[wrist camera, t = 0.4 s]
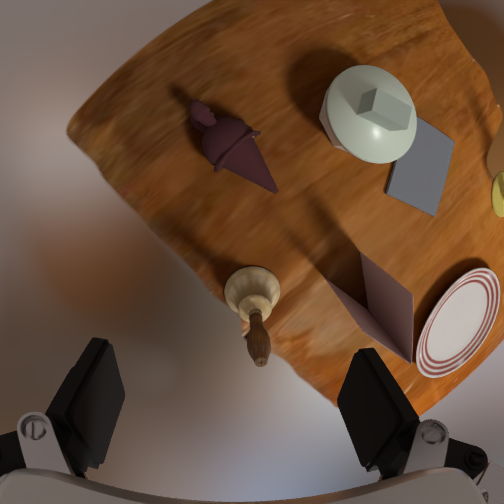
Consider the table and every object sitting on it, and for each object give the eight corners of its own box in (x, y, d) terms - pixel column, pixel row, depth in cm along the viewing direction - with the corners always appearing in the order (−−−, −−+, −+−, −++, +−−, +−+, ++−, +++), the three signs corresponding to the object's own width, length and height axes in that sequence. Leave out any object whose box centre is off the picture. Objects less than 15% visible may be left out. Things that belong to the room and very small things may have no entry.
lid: (338, 51, 27) (353, 38, 22) (419, 94, 29) (441, 89, 24) (313, 140, 31) (326, 138, 26) (399, 177, 33) (421, 181, 28)
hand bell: (246, 324, 43) (253, 399, 28) (212, 286, 41) (204, 356, 26) (290, 296, 42) (318, 364, 27) (259, 254, 40) (276, 313, 25)
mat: (406, 111, 34) (409, 111, 34) (452, 141, 36) (454, 141, 35) (385, 193, 38) (387, 194, 38) (432, 215, 40) (434, 216, 39)
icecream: (307, 167, 30) (215, 77, 27) (262, 212, 30) (165, 116, 27) (288, 177, 37) (211, 102, 34) (250, 215, 36) (171, 136, 34)
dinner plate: (421, 275, 44) (432, 283, 40) (501, 255, 45) (511, 260, 41) (398, 383, 52) (404, 392, 49) (476, 350, 53) (482, 356, 50)
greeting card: (373, 309, 45) (416, 361, 30) (334, 324, 45) (368, 384, 31) (364, 249, 41) (418, 291, 27) (320, 265, 41) (361, 317, 27)
